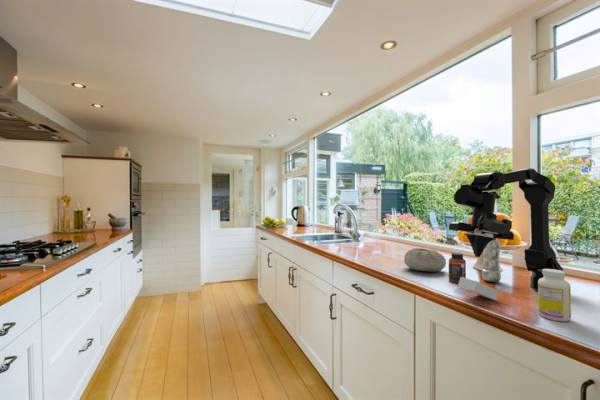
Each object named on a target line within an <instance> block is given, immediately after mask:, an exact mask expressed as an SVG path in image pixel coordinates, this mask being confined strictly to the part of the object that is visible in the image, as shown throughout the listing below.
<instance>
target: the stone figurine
mask: <svg viewBox="0 0 600 400" xmlns="http://www.w3.org/2000/svg"><path fill="white" fill-rule="evenodd" d="M501 248H502V244H501V242H500V241H499V239H498V238H496V240H492V241H490V242H489V243H488V244H487V246H486V247H485V249H484V250H483V252H482V254H483V256H482V257H483V263H482V264H483V265H482V269H481V278H482V279H483V280H484V281H486V282H489V283H499V282H500V281H501V279H502V273H501V269H500V255H501Z"/></svg>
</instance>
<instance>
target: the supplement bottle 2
mask: <svg viewBox="0 0 600 400" xmlns="http://www.w3.org/2000/svg"><path fill="white" fill-rule="evenodd" d="M542 274H543V275H544V276H543V278H540V279H539V280H538V291H537V309H538V315H540V317H542V318H545V319H548V320H551V321H554V322H555V321H556V322H570V321H571V320H572V312H571V311H572V307H571V306H572V305H571V303H572V302H571V297H572V296H571V295H572V293H571V283H570V282H569V281H568V280H565V277H566V271H564V270H563V271H561V270H555V269H543V270H542Z"/></svg>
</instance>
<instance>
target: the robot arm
mask: <svg viewBox="0 0 600 400" xmlns="http://www.w3.org/2000/svg"><path fill="white" fill-rule="evenodd" d="M528 180H529V181H528ZM516 182H517V183H518V188H520V190H521V191H522V192H523V196H524V199H525V201H526V202H527V204H529V206H530V208H529V211H530V237H531V238H530V239H531V243H530V246H529V247H528V248H525V249H524V261H525V266H526V269H527V271H528V272H532V273H531V275H530V288H532V289H533V290H534V291H536V292H538V280H539V279H540V278H543V276H544V275H543V274H542V270H543V269H555V270H561V271H564V268H563V267H562V266H561V264H560V263H559V262H558V260H557V255H556V252H555V251H554V250H553V248H552V247H551V246H550V225H549V224H550V221H549V205H550V203H551V202H552V200H553V199H554V198H555V192H556V185H555V183H553V181H552V180H551V179H550V178H549V177H548V176H546V175H544V174H542V173H539V172H537V170H536V169H534V168H531V167H529V168H528V167H527V168H520V169H517V170H512V171H507V172H496V171H495V172H494V171H493V172H486V173H485V172H484V173H477V174H476V175H475V176H474V178H473V179H472V180H471V182H470V183H469V184H467V183H464V184H463V183H462V184H461V185H460V188H458V189H457V190H456V191H455V193H454V195H453V201H454V203H456V205H459V206H460V205H461V206H464V207H469V208H472V211H470V213H469V216H472V217H471V223H465V222H460V221H451V222H450V223H449V224H448V231H453V232H458V231H459V232H465V233H464V234H463V235H464V236H466V237H467V239H468V242H469V244H470V246H471V249H472V251H473V255H474V257H476V258H480V257H481V256H482V254H483V250H484V249H485V247H486V246H487V244H488V243H489V242H490V241H492V240H496V238H497V240H506V241H507V240H508V241H514V237H515V234H514V233H513V231H511V229H512V228H513V227H512V226H513V221H512V220H510V219H505V218H503V219H502V220H500V219H498V218H497V216H498V215H497V214H495V213H494V211H495V206H496V205H495V203H496V200H500V199H501V196H500V195H499V194H498V193H497V190H499V189H502V188H504V187H505V185H507V184H513V183H516Z"/></svg>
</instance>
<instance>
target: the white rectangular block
mask: <svg viewBox="0 0 600 400" xmlns="http://www.w3.org/2000/svg"><path fill="white" fill-rule="evenodd" d="M457 285H458V286H457V287H460V288H463V289H465V290H467V291H469V292H472V293H474V294H476V295H479V296H482V297H484V298H488V299H491V300H493V301H497V298H498V294H499V291H498V290H497V289H495V288H493V287H490V286H487V285H486V284H483V283H481V282H480V281H477V280H473V279H470V278H467V277H466V278H462V277H460V281H459V283H457Z"/></svg>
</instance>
